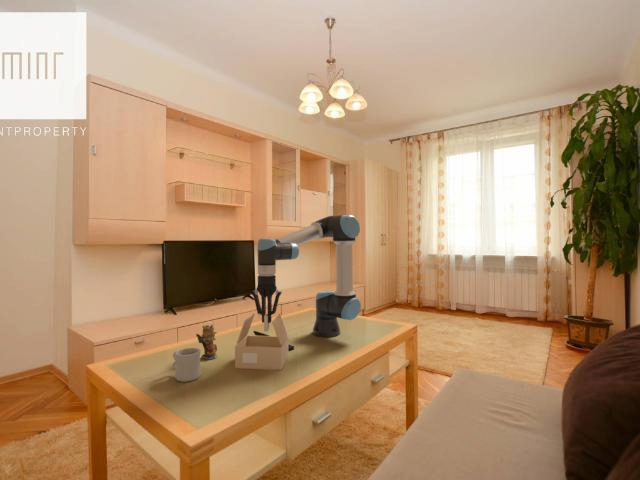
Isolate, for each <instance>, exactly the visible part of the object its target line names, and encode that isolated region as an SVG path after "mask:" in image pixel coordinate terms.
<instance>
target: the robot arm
mask: <svg viewBox="0 0 640 480" xmlns="http://www.w3.org/2000/svg"><path fill="white" fill-rule="evenodd" d="M360 231H361V226H360V222H359V220H358V219H357V218H356V216H354V215H351V214H340V215H339V214H338V215H329V216H326V217H322V218H320V219H318V220H316V221H313V222H311V224H310V225H308V226H307V227H304V228H300V229H298V230H296V231H293V232H291V233H288V234H285V235H283V236H281V237H278V238H276V239H275V238H259V239H258V242H257V274H258V275H257V286H256V289H255V290H252V291H251V295H252V296H253V300H254V303H255V309H256V312H257V314H259V315H261V323H263V331H264V332H268V331H269V330H270V324H272V323H271V322H272V315H275V314H276V312H277V308H278V306H279V305H278V304H279V301H280V296H281V295H282V293H283V292H282V291H281V290H279V289H278V287H277V282H276V274H277V272H276V271H277V270H276V268H277V267H276V265H277V264H276V262H277V261H285V260H286V261H287V260H290V261H291V260H295V259H297V258H298V257H299V254H300V248H299V246H302V245H305V244H307V243H309V242H311V241H314V240H321V239H325V238H332V242H333V243H334V244H335V259H336V260H335V263H336V264H335V271H336V275H335V276H336V277H335V278H336V279H335V280H336V282H335V283H336V290H327V291H325V290H324V291H318V292H317V293H316V296H315V297H316V298H315V316H316V317H315V321H314V325H313V327H312V333H313V335H315V336H318V337H323V338H331V336H333V337H336V335H337V336H339V335H340V334H341V328H340V325H339V321H338V319H342V320H343V321H344V320H345V321H346V320H347V321H353V320H355V319H356V318H357V317H358V315H359V314H360V312H361V307H362V306H361V301H360V300H359V299H358V298H357V292H356V291H354V278H353V277H354V275H353V273H354V269H353V268H354V267H353V265H354V263H353V261H354V260H353V258H354V257H353V255H354V254H353V245H354V243H355V242H356V238H357V237H358V236H359V234H360ZM258 294H259V295H260V296H261V298H260V297H259V295H258ZM274 294H275V298H274V302H273V301H272V299H273V295H274ZM260 300H261V302H260ZM266 302H267V303H266ZM272 303H273V304H272ZM338 334H339V335H338Z"/></svg>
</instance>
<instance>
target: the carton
mask: <svg viewBox="0 0 640 480" xmlns="http://www.w3.org/2000/svg"><path fill="white" fill-rule="evenodd" d="M288 344H289V336H287V337H286V339H285V341H284V342H283V344H282V345H280V343H279V340H278V337H277V335H275V336H274V335H269V336H256V335H250V334H247V336H245V337H244V338H243V339H242V340H241V341H240V342H239V343H238V344H237V343H236V345H235V346H234V369H243V370H246V369H247V370H261V371H262V370H263V371H265V370H266V371H283V369H284V367H285V364H286V363H287V360H288V358H289V351H288ZM283 366H284V367H283ZM282 368H283V369H282Z"/></svg>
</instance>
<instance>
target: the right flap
mask: <svg viewBox="0 0 640 480" xmlns="http://www.w3.org/2000/svg"><path fill="white" fill-rule="evenodd" d="M271 322H272V323H271V324H272V326H273V328H274V331H275V334H276V335H275V336H277V337H278V340H279V343H280V345H282V344H283V342H284V341H285V339H286V337H289V335H288V333H287V330H286V328H285V327H286V326H285V324H284V321H283V318H282V317H281V314H278V315H277V316H276V317H275V319H273V320H272V321H271Z"/></svg>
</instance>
